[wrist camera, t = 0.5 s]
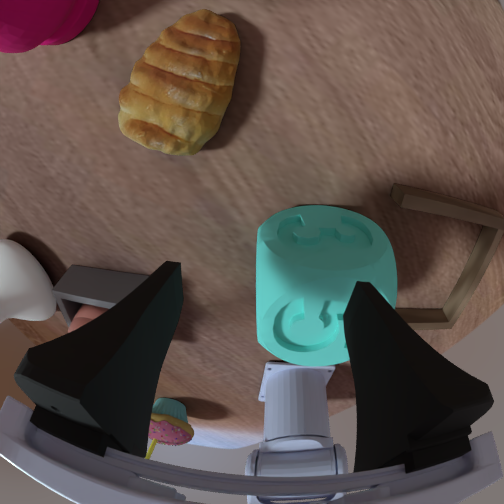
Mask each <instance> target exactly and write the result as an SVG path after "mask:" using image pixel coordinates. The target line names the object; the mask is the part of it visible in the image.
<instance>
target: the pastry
mask: <svg viewBox="0 0 504 504" xmlns="http://www.w3.org/2000/svg"><path fill="white" fill-rule="evenodd" d="M240 43H241V42H240V39H239V37H238V33H237V30H236V27H235V25H234V24H233V23H232V22H231V21H229V20H228V19H226V18H225V17H223V16H220V15H217V14H216V13H214V12H212V11H210V10H206V9H202V10H199V11H197V12H193V13H191V14H186V15H185V16H183V17H182V18H180V19H179V20H178V21H177V22H176V23H175V24H174V25H172V26H170V27H168V28H166V29H165V30H163V31H162V33H161V35H160V37H159V38H158V39H157V40H156V41H155V42H154V43H152V44H151V45H150V46H149V47H148V48H147V49H146V51H145V53H144V55H143V57H142V58H141V59H139V60H138V61H137V62H136V63H135V65H134V67H133V71H132V73H131V78H130V83H129V84H128V85H127V86H125V87H124V88H122V90H121V91H120V95H119V103H120V107H121V109H120V112H119V114H118V120H119V126H120V130H121V131H122V133H123V134H124V135H125V136H127V137H129V138H130V139H132V140H133V141H135V142H137V143H139V144H141V145H143V146H145V147H146V148H149V149H153V150H160V151H162V152H164V153H167V154H172V155H179V156H184V155H194V154H196V153H197V152H199V151H200V149H201V148H202V146H203V145H204V144H205V143H206V142H207V141H208V140H209V139H210V138H212V137H213V136H214V135H215V134H216V133H217V131H218V129H219V128H220V124H221V121H222V117H223V115H224V113H225V111H226V108H227V106H228V104H229V102H230V100H231V97H232V90H233V86H234V79H235V74H236V71H237V66H238V63H239V56H240Z"/></svg>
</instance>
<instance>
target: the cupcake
mask: <svg viewBox="0 0 504 504" xmlns="http://www.w3.org/2000/svg"><path fill="white" fill-rule="evenodd" d="M193 436H194V430H193V428H192V427H191V425H190V424H188V420H187V414H186V407H185V406H184V405H183V404H182V403H181V402H179V401H176V400H174V399H170V398H159V399H157V400H156V402H155V404H154V405H153V408H152V414H151V420H150V427H149V434H148V437H149V438H150V439H152V440H153V441H152V443H151V446H150V447H149V450H148V453H147V454H146V457H145V459H149V458H150V456H151V454H152V452H153V450H154V447H155V445H156V443H159V444H164V445H165V444H167V445H175V446H176V445H182V444H185V443H187V442H189V441H190V440H192V437H193Z"/></svg>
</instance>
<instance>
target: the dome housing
mask: <svg viewBox="0 0 504 504" xmlns="http://www.w3.org/2000/svg"><path fill="white" fill-rule="evenodd" d="M148 277H149V276H148V275H140V274H132V273H125V272H118V271H111V270H104V269H97V268H90V267H84V266H77V265H71V266H70V268H69V269H68V270H67V271H66V273H65V274H64V275H63V276H62V278H61V279H60V280H59V281H58V283H57V284H56V285H55V287H54V288H53V289H52V292H53V294H54V297H55V299H56V301H57V303H58V306H59V308H60V310H61V312H62V314H63V316H64V319H65V321H66V323H67V325H68V327H69V326H70V324H71V322H72V320H73V318H74V317H75V315H76V314H77V312H78V310H79V309H80V307H81V306H82V304H83V303H84V304H88V305H93V306H98V307H103V308H108V309H110V308H112V307H113V306H114V305H116V304H117V303H118V302H120V301H121V300H122V299H123V298H125V297H126V296H127V295H128V294H130V293H131V292H132V291H133V290H134V289H135V288H137V287H138V286H139V285H140V284H141V283H142V282H143V281H145V280H146V279H147V278H148Z"/></svg>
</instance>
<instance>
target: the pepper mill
mask: <svg viewBox="0 0 504 504" xmlns="http://www.w3.org/2000/svg"><path fill="white" fill-rule="evenodd" d="M98 3H99V0H0V52H4V53H21V52H26V51H29V50H31V49H33V48H35V47H37V46H38V45H59V44H63V43H65V42H68V41H70V40H71V39H73V38H74V37H76V36H77V35H78V34H79V33H80V32H81V31H82V30H83V29H84V28H85V27H86V25H87V24H88V23H89V22H90V20H91V19H92V17H93V15H94V13H95V11H96V9H97V6H98Z"/></svg>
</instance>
